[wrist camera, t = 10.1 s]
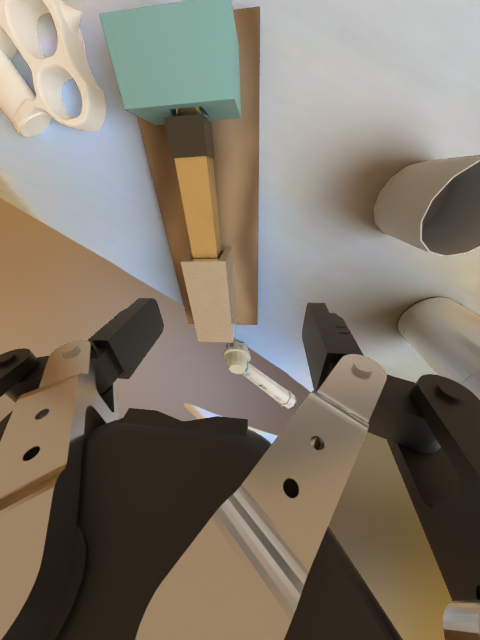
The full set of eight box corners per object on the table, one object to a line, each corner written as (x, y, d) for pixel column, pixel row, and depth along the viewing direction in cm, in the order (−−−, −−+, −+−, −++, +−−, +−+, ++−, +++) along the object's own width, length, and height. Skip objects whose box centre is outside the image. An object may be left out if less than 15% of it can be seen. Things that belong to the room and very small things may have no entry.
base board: (259, 17, 19) (259, 6, 18) (257, 320, 40) (257, 324, 39) (124, 36, 20) (115, 27, 19) (190, 319, 41) (188, 323, 40)
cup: (360, 206, 27) (403, 217, 19) (426, 143, 23) (516, 123, 15) (393, 246, 30) (443, 271, 21) (457, 196, 25) (549, 204, 17)
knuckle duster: (-106, -48, 19) (-35, -225, 14) (59, 166, 28) (134, 100, 23) (-168, -87, 16) (-105, -321, 12) (37, 165, 25) (117, 89, 20)
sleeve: (231, 247, 30) (225, 261, 25) (236, 320, 38) (232, 342, 33) (194, 247, 31) (180, 261, 26) (207, 319, 39) (198, 341, 34)
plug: (206, 65, 19) (195, 43, 16) (225, 278, 32) (222, 289, 29) (168, 69, 19) (150, 49, 16) (203, 278, 32) (196, 289, 29)
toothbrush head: (283, 412, 52) (217, 371, 39) (279, 389, 57) (219, 346, 44) (300, 406, 50) (236, 361, 37) (295, 382, 55) (237, 335, 42)
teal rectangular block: (238, 45, 19) (230, -6, 14) (240, 117, 22) (234, 98, 17) (141, 57, 20) (98, 13, 15) (156, 125, 23) (124, 109, 18)
